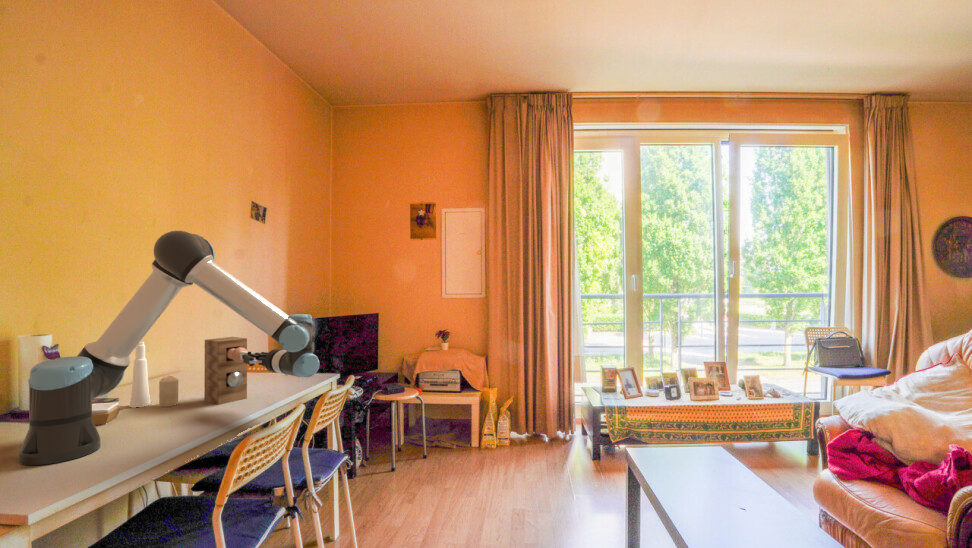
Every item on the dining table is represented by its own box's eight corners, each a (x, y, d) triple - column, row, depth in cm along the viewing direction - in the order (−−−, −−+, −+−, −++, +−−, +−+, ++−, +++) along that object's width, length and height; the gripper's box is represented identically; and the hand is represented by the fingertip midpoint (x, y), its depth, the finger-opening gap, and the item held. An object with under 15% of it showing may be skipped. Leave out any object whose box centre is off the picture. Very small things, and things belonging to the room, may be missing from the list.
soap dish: (57, 430, 135) (57, 413, 135) (73, 420, 145) (73, 404, 145) (109, 425, 140) (109, 408, 140) (122, 416, 149) (122, 400, 149)
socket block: (246, 398, 170) (246, 338, 171) (218, 404, 162) (219, 341, 162) (232, 394, 176) (232, 336, 176) (204, 400, 167) (204, 339, 168)
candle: (181, 404, 163) (181, 375, 163) (163, 407, 158) (163, 378, 158) (173, 402, 166) (173, 374, 166) (156, 405, 161) (156, 376, 161)
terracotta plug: (248, 361, 166) (248, 346, 166) (233, 363, 161) (233, 348, 161) (231, 358, 172) (231, 344, 172) (216, 360, 167) (216, 346, 168)
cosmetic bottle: (143, 402, 165) (143, 340, 165) (155, 404, 163) (155, 341, 163) (125, 407, 159) (125, 343, 159) (137, 408, 157) (137, 343, 157)
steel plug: (242, 385, 167) (242, 370, 168) (228, 388, 163) (228, 373, 163) (226, 381, 174) (226, 367, 174) (212, 384, 169) (212, 370, 169)
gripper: (262, 376, 145) (222, 368, 158) (299, 369, 156) (259, 363, 169) (262, 352, 145) (223, 346, 158) (299, 347, 156) (259, 342, 169)
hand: (241, 355), depth 164 cm, fingers closed
